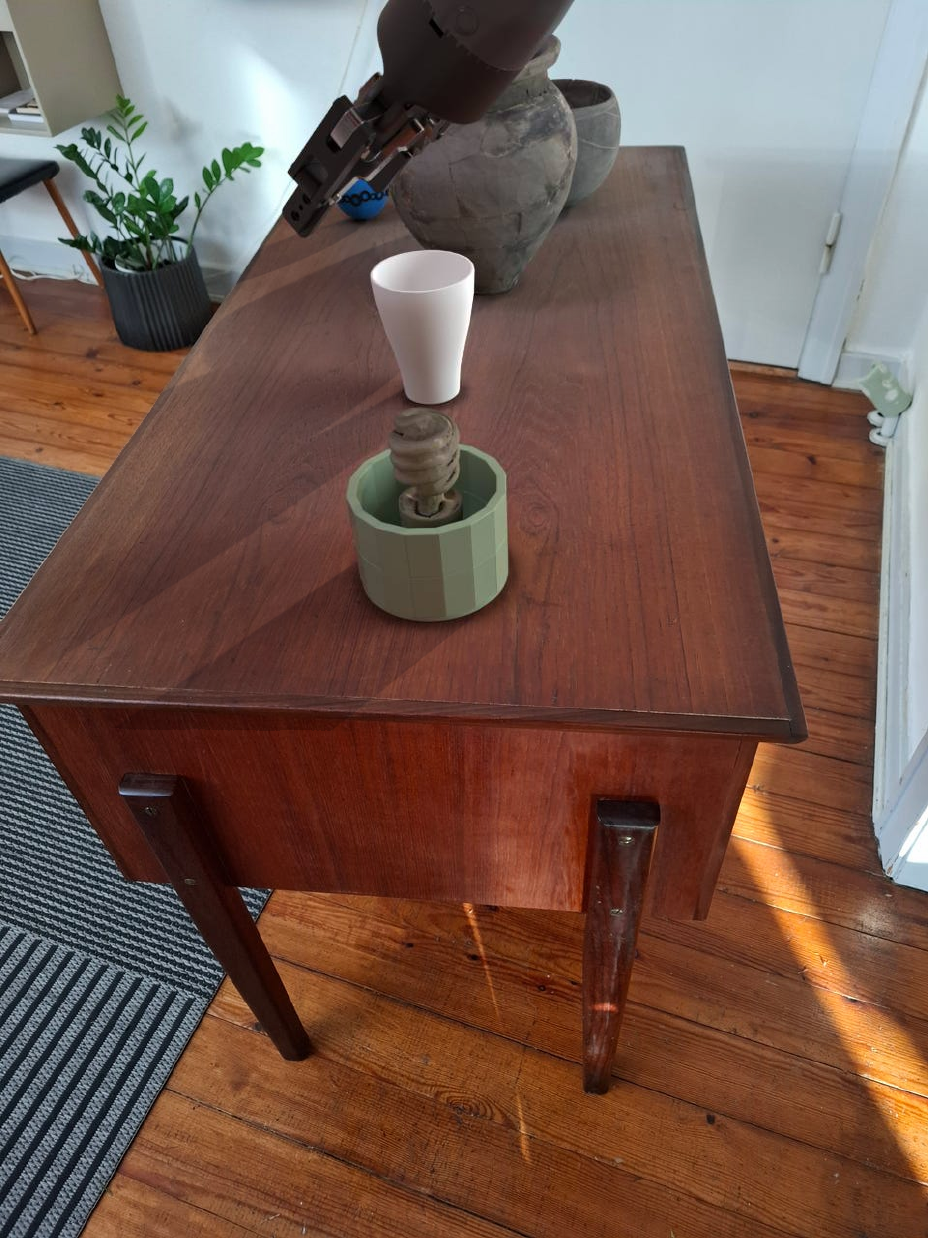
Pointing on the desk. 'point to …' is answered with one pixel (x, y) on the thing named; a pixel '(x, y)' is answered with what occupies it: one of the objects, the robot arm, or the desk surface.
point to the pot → (430, 542)
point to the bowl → (591, 133)
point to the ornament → (362, 201)
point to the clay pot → (495, 179)
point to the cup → (426, 318)
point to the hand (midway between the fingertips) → (334, 202)
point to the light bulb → (426, 467)
